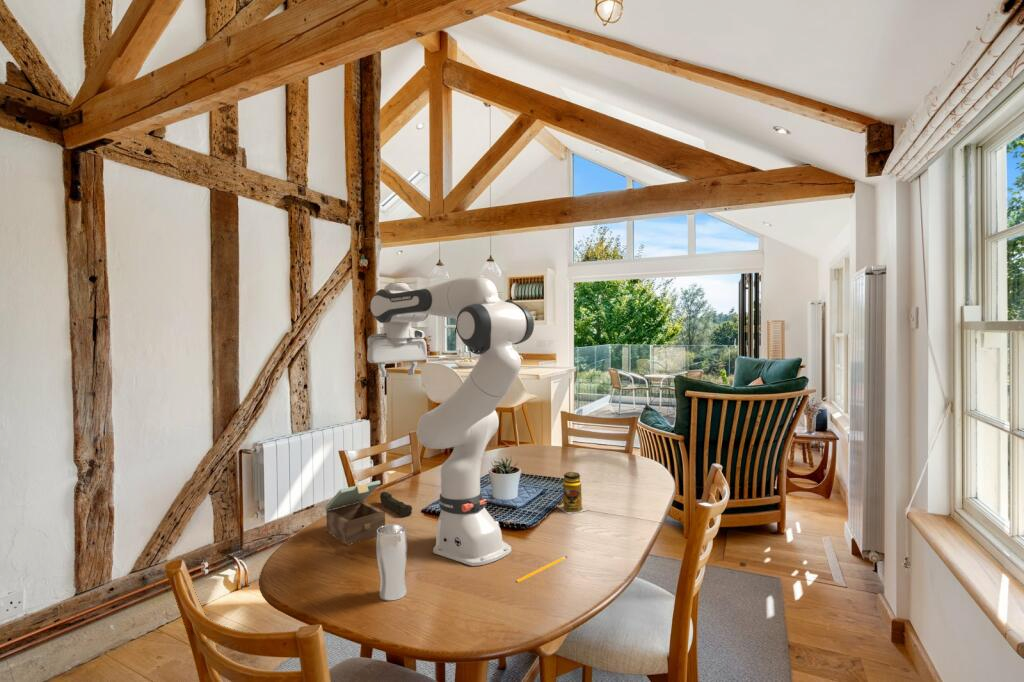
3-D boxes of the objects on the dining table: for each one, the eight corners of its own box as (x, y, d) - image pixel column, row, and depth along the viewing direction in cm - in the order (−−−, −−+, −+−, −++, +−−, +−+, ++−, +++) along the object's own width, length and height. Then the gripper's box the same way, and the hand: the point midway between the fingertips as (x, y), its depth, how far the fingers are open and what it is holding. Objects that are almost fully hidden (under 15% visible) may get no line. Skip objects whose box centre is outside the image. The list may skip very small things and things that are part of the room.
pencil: (567, 559, 132) (567, 556, 132) (518, 584, 119) (518, 581, 119) (565, 558, 132) (565, 555, 132) (515, 582, 120) (515, 580, 120)
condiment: (568, 514, 163) (567, 477, 163) (556, 506, 171) (555, 471, 171) (587, 511, 166) (587, 474, 166) (574, 503, 174) (574, 468, 173)
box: (386, 534, 150) (386, 512, 149) (348, 546, 141) (347, 523, 141) (363, 521, 160) (363, 501, 160) (327, 532, 152) (326, 510, 152)
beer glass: (380, 587, 118) (378, 524, 118) (410, 585, 119) (408, 522, 119) (374, 603, 111) (373, 535, 111) (406, 600, 112) (404, 534, 112)
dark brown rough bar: (412, 516, 165) (412, 502, 165) (401, 519, 163) (401, 504, 163) (388, 501, 180) (388, 488, 180) (377, 504, 178) (377, 491, 177)
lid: (383, 487, 151) (380, 479, 152) (343, 497, 142) (341, 488, 143) (365, 505, 160) (363, 497, 161) (327, 516, 151) (324, 507, 152)
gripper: (372, 333, 153) (373, 378, 154) (429, 332, 167) (430, 374, 167) (362, 333, 158) (364, 377, 158) (418, 333, 172) (419, 373, 172)
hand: (398, 375), depth 163 cm, fingers open, 8 cm apart
